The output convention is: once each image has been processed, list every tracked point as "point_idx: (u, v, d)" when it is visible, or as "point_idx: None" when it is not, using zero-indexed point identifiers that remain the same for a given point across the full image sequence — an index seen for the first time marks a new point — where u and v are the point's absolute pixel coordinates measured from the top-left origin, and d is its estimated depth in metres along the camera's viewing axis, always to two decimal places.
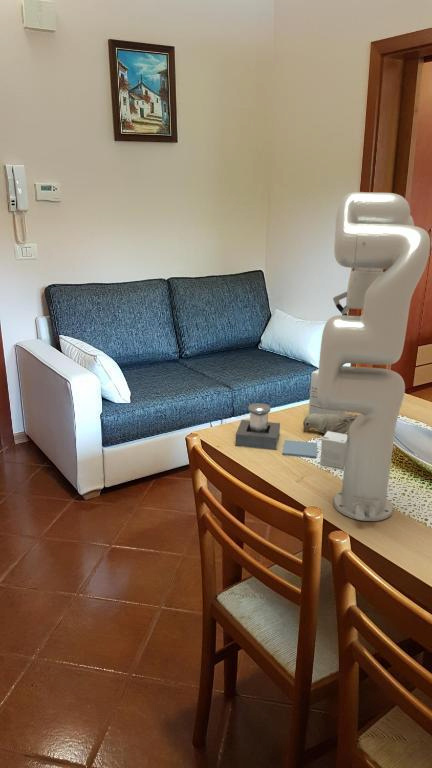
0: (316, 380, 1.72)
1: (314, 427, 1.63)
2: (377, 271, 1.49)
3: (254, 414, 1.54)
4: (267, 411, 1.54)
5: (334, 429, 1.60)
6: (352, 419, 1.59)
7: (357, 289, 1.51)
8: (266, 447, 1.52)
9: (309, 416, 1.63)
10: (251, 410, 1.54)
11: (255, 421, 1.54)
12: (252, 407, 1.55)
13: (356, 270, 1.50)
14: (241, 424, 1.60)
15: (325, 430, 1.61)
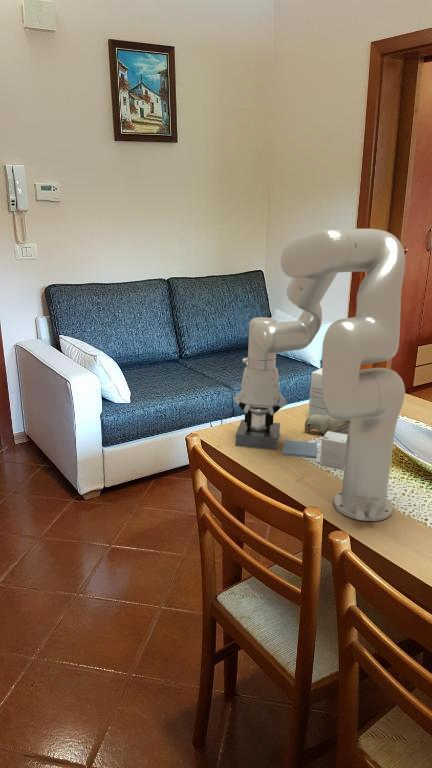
0: (316, 380, 1.72)
1: (316, 428, 1.62)
2: (268, 370, 1.49)
3: (254, 414, 1.54)
4: (267, 411, 1.53)
5: (336, 430, 1.59)
6: None
7: (250, 386, 1.51)
8: (266, 447, 1.52)
9: (311, 417, 1.62)
10: (251, 410, 1.54)
11: (255, 421, 1.54)
12: (252, 407, 1.55)
13: (248, 367, 1.51)
14: (241, 424, 1.60)
15: None
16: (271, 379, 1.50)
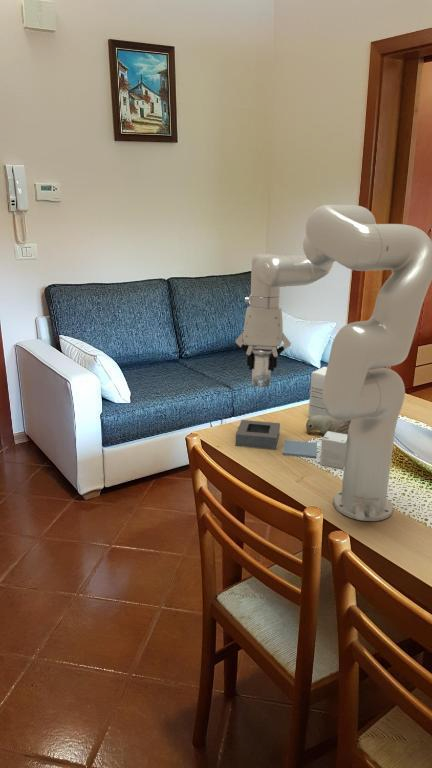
0: (316, 380, 1.72)
1: (317, 429, 1.62)
2: (272, 308, 1.44)
3: (257, 356, 1.49)
4: (270, 352, 1.48)
5: (338, 430, 1.59)
6: None
7: (253, 326, 1.46)
8: (266, 447, 1.52)
9: (312, 418, 1.62)
10: (254, 351, 1.49)
11: (258, 363, 1.49)
12: (255, 349, 1.50)
13: (251, 306, 1.46)
14: (241, 424, 1.60)
15: None
16: (275, 318, 1.45)
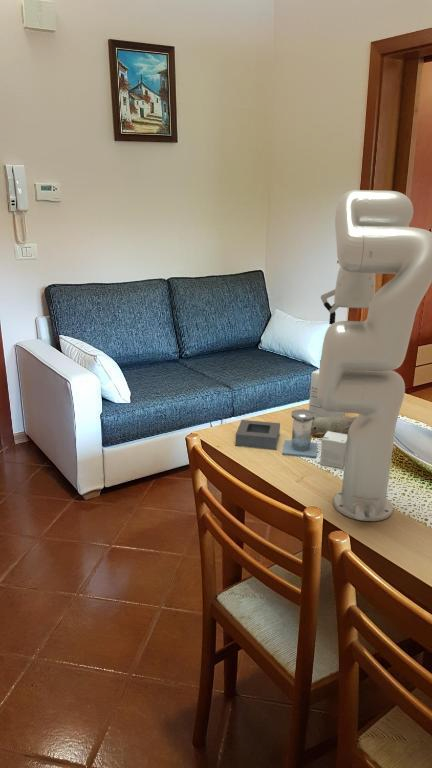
0: (316, 380, 1.72)
1: (322, 431, 1.60)
2: None
3: (298, 421, 1.48)
4: (311, 418, 1.48)
5: (343, 432, 1.58)
6: None
7: (345, 287, 1.45)
8: (266, 447, 1.52)
9: (316, 420, 1.60)
10: (295, 417, 1.48)
11: (299, 428, 1.48)
12: (295, 414, 1.49)
13: None
14: (241, 424, 1.60)
15: None
16: (369, 279, 1.43)
